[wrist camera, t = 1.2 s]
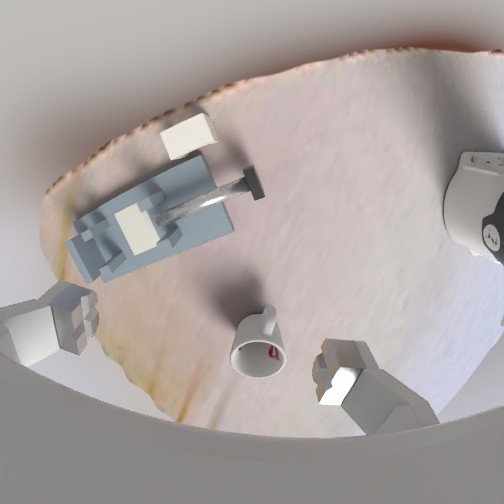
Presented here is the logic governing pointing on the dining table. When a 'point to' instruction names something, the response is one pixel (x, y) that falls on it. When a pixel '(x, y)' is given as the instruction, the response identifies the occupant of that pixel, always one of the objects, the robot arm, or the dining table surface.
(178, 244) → the block
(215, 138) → the bracket
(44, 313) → the robot arm
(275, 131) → the dining table surface
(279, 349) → the cup
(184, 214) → the shaft
